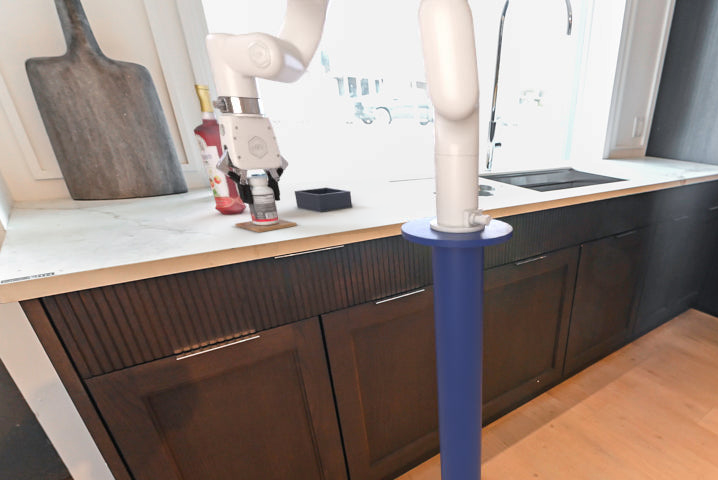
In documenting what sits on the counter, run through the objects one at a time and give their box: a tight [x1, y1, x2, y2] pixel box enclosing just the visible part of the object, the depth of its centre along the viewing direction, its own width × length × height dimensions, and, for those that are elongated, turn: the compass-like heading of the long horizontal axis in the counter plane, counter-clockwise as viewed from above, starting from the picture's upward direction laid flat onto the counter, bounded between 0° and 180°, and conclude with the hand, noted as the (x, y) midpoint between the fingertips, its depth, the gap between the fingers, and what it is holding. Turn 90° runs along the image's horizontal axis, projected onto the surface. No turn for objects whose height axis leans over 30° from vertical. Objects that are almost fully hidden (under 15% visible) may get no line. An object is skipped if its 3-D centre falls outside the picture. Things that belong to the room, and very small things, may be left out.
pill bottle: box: [246, 175, 280, 225], centre depth 93 cm, size 5×5×10 cm
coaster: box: [234, 218, 298, 233], centre depth 96 cm, size 9×9×1 cm
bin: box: [294, 187, 353, 213], centre depth 117 cm, size 10×10×4 cm
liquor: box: [193, 84, 248, 215], centre depth 101 cm, size 7×7×28 cm
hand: (261, 200), depth 93 cm, fingers closed on pill bottle, 5 cm apart
